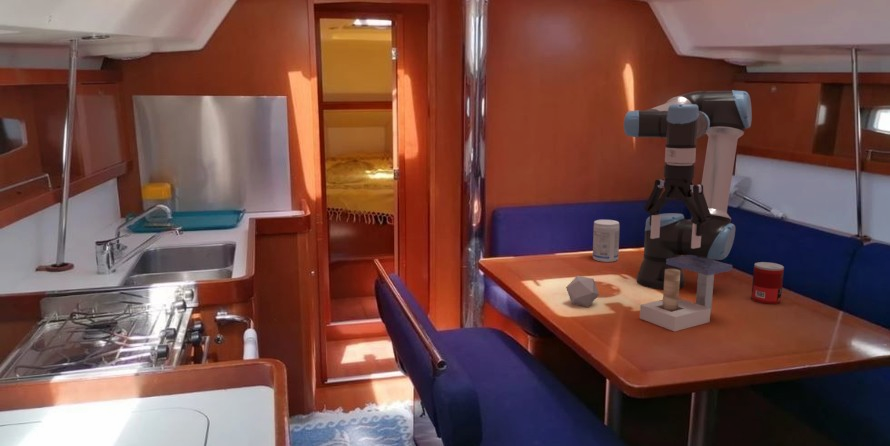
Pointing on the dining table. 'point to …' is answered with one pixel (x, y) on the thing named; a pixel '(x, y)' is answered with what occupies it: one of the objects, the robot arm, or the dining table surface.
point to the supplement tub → (606, 240)
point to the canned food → (767, 282)
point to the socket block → (675, 315)
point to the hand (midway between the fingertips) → (674, 242)
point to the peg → (671, 290)
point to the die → (582, 291)
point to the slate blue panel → (701, 274)
